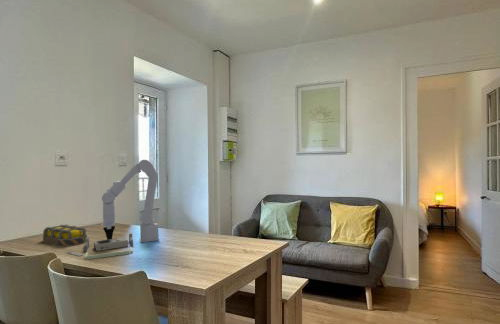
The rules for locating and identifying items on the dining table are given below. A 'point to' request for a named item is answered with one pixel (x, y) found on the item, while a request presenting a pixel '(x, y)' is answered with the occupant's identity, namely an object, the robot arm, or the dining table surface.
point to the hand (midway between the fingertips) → (109, 240)
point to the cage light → (64, 235)
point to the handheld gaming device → (110, 244)
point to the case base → (88, 242)
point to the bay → (108, 254)
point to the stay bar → (74, 253)
